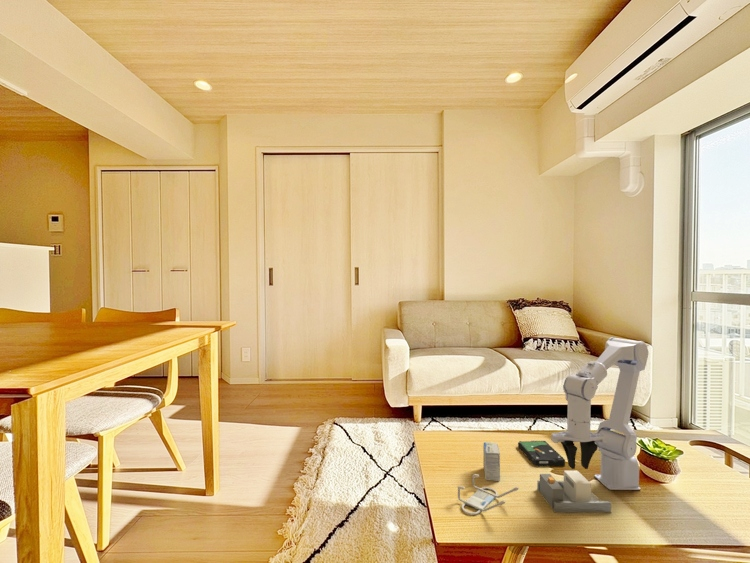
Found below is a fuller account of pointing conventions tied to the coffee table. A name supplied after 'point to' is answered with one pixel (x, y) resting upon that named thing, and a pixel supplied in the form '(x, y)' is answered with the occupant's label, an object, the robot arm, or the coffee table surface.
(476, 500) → the wall mount rack
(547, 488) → the block
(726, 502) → the coffee table surface
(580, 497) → the block
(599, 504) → the grey tray
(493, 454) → the medicine box
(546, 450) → the disk drive
